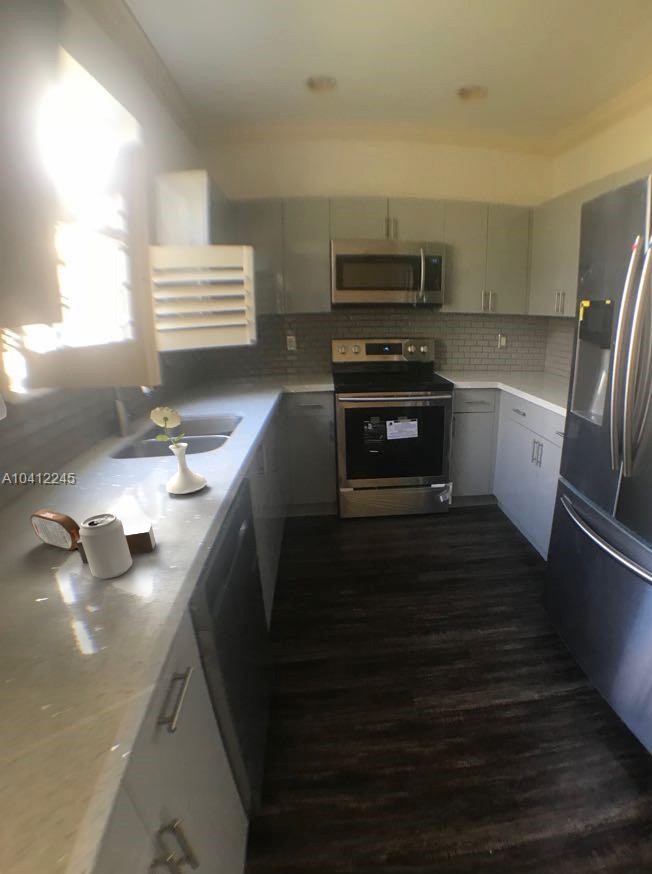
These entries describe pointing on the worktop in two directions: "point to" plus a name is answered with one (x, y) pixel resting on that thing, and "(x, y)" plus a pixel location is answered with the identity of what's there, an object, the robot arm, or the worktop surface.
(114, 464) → the worktop surface
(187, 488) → the flower in vase
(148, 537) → the brown rectangular block
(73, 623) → the worktop surface
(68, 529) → the tin
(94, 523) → the can
